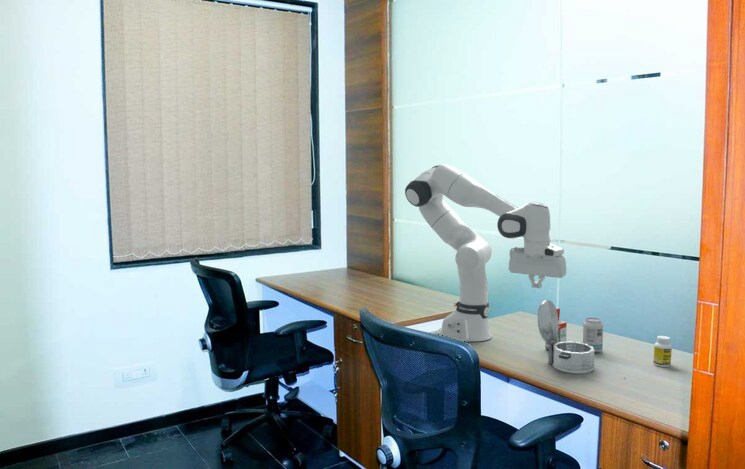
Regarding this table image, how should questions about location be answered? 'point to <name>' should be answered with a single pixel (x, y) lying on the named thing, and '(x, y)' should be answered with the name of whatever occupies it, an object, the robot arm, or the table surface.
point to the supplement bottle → (662, 351)
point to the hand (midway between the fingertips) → (536, 287)
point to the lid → (548, 321)
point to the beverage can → (593, 333)
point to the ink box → (559, 331)
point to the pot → (571, 357)
